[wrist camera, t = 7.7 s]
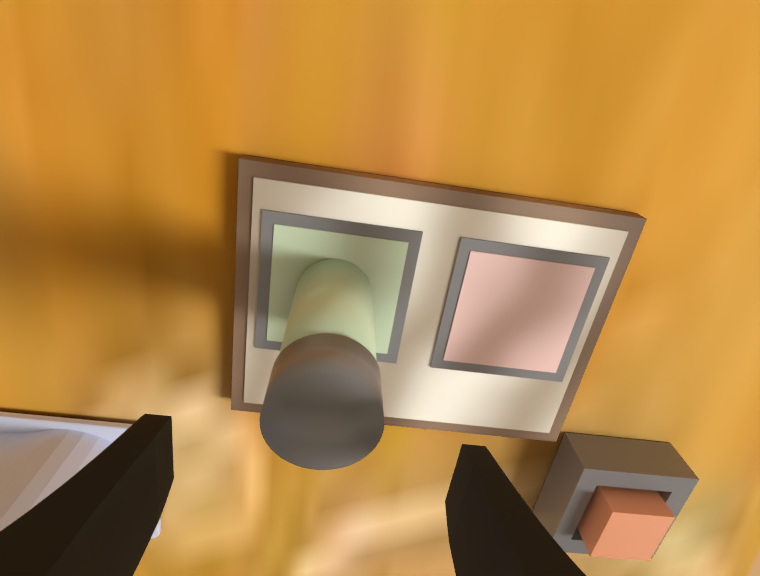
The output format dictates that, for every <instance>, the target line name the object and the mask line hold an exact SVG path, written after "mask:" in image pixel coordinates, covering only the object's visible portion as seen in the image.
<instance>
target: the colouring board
mask: <svg viewBox="0 0 760 576" xmlns="http://www.w3.org/2000/svg"><path fill="white" fill-rule="evenodd" d="M646 220H647V219H646V218H644V217H642V216H641V215H639V214H637V213H631V212H625V211H618V210H611V209H605V208H598V207H591V206H584V205H578V204H571V203H564V202H558V201H551V200H544V199H538V198H531V197H524V196H517V195H511V194H504V193H497V192H491V191H484V190H477V189H470V188H464V187H457V186H450V185H444V184H437V183H430V182H424V181H417V180H410V179H403V178H397V177H390V176H383V175H377V174H370V173H363V172H356V171H350V170H343V169H336V168H330V167H323V166H316V165H310V164H303V163H296V162H289V161H283V160H276V159H269V158H263V157H256V156H249V155H242V156H241V157H240V158H239V165H238V198H237V231H236V264H235V297H234V329H233V362H232V395H231V410H239V411H249V412H260V413H261V409H262V406H263V402H264V398H265V394H266V390H267V387H268V383H269V379H270V375H271V371H272V368H273V365H274V362H275V360H276V358H277V357H278V355H279V353H280V349H281V346H282V342H283V338H284V334H285V330H286V326H287V322H288V318H289V314H290V310H291V306H292V302H293V298H294V294H295V290H296V286H297V283H298V280H299V278H300V276H301V275H302V273H303V272H304V271H305V270H306V269H307V268H308V267H309V266H311V265H312V264H314V263H316V262H318V261H322V260H326V259H341V260H345V261H348V262H350V263H353V264H354V265H356V266H358V267H359V268H360V269H361V270H362V271H363V272H364V273H365V274H366V276H367V277H368V279H369V281H370V284H371V288H372V301H373V316H374V331H375V345H376V360H377V363H378V366H379V368H380V373H381V385H382V398H383V411H384V425H391V426H401V427H412V428H422V429H432V430H442V431H452V432H462V433H472V434H482V435H493V436H503V437H513V438H523V439H533V440H543V441H553V442H556V441H557V438H558V436H559V433H560V431H561V428H562V426H563V423H564V421H565V419H566V416H567V414H568V411H569V409H570V406H571V404H572V401H573V399H574V396H575V394H576V392H577V389H578V387H579V384H580V382H581V379H582V377H583V374H584V372H585V369H586V367H587V365H588V362H589V360H590V357H591V355H592V352H593V350H594V347H595V345H596V342H597V340H598V338H599V335H600V333H601V330H602V328H603V325H604V323H605V320H606V318H607V315H608V313H609V310H610V308H611V306H612V303H613V301H614V298H615V296H616V293H617V291H618V288H619V286H620V283H621V281H622V279H623V276H624V274H625V271H626V269H627V266H628V264H629V261H630V259H631V256H632V254H633V252H634V249H635V247H636V244H637V242H638V239H639V237H640V234H641V232H642V229H643V227H644V225H645V222H646Z"/></svg>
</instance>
